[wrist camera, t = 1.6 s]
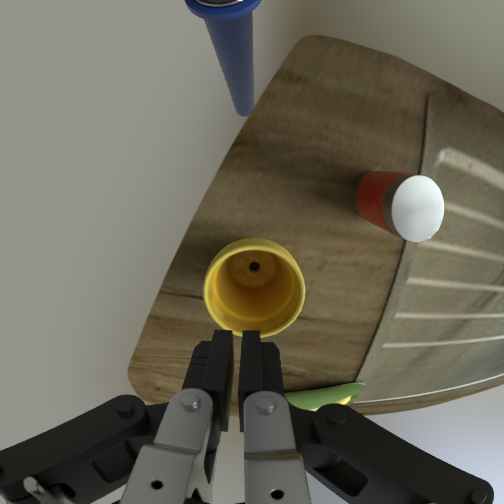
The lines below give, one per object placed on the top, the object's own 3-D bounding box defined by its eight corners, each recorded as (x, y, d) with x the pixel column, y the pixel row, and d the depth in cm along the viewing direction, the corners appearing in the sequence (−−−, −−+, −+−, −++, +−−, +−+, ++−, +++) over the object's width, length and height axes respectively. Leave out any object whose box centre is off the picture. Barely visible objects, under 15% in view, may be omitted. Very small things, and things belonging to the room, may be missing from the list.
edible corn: (252, 392, 43) (252, 411, 39) (366, 371, 42) (374, 388, 38) (257, 410, 45) (257, 428, 40) (364, 391, 44) (371, 407, 39)
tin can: (341, 203, 34) (378, 219, 23) (366, 160, 32) (412, 159, 21) (379, 230, 35) (423, 256, 24) (403, 189, 33) (454, 200, 22)
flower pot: (309, 253, 36) (326, 283, 27) (263, 312, 39) (266, 354, 29) (243, 208, 34) (238, 223, 25) (200, 273, 37) (183, 307, 28)
